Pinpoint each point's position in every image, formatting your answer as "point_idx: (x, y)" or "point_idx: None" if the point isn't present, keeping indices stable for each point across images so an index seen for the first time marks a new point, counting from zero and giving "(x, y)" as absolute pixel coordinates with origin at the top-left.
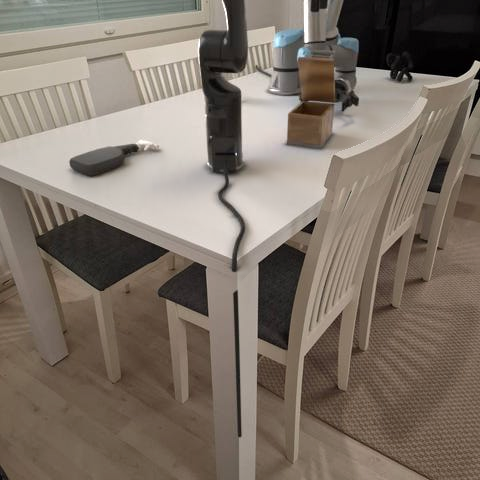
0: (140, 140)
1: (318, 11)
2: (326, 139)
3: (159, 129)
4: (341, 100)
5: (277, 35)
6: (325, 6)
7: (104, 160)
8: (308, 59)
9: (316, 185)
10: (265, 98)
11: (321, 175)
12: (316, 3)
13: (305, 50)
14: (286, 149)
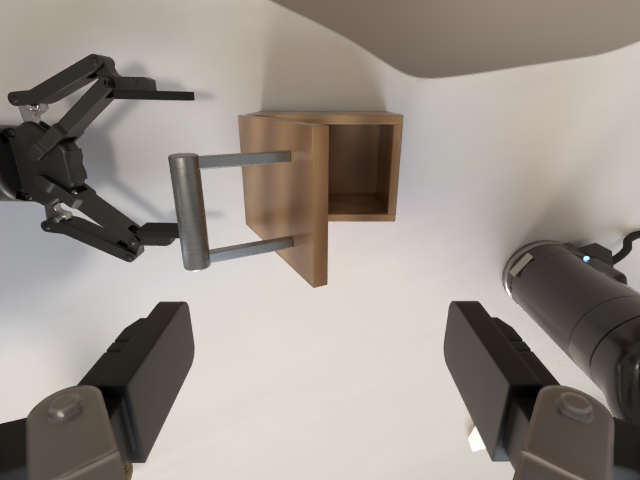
0: (476, 449)
1: (463, 301)
2: (323, 111)
3: (370, 454)
4: (86, 125)
5: None
6: (181, 318)
7: None
8: (326, 241)
9: (614, 59)
10: (49, 359)
11: (556, 62)
12: (531, 353)
13: None
14: (412, 189)
